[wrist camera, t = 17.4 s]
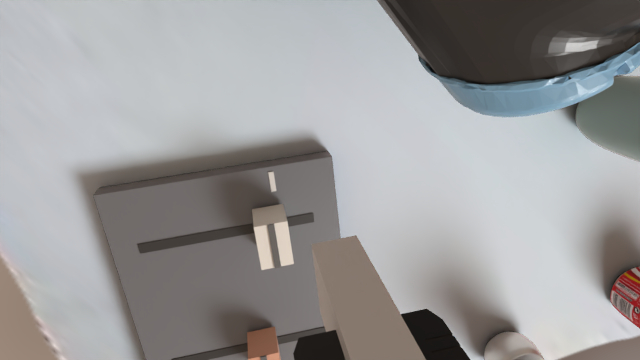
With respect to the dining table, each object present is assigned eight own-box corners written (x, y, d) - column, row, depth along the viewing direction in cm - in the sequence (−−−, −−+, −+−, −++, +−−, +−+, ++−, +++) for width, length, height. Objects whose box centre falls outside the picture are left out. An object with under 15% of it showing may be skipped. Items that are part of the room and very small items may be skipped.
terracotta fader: (247, 332, 47) (248, 360, 43) (274, 326, 47) (278, 353, 44) (253, 364, 49) (255, 394, 45) (280, 358, 49) (284, 387, 45)
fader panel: (99, 187, 41) (92, 196, 39) (327, 151, 44) (332, 156, 42) (164, 395, 51) (162, 410, 49) (350, 354, 54) (354, 366, 52)
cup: (550, 127, 48) (625, 152, 39) (589, 59, 46) (678, 69, 37) (601, 152, 50) (683, 181, 41) (640, 88, 48) (736, 104, 39)
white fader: (252, 209, 42) (253, 228, 38) (282, 203, 43) (287, 221, 39) (259, 249, 44) (261, 271, 40) (289, 243, 44) (294, 264, 40)
